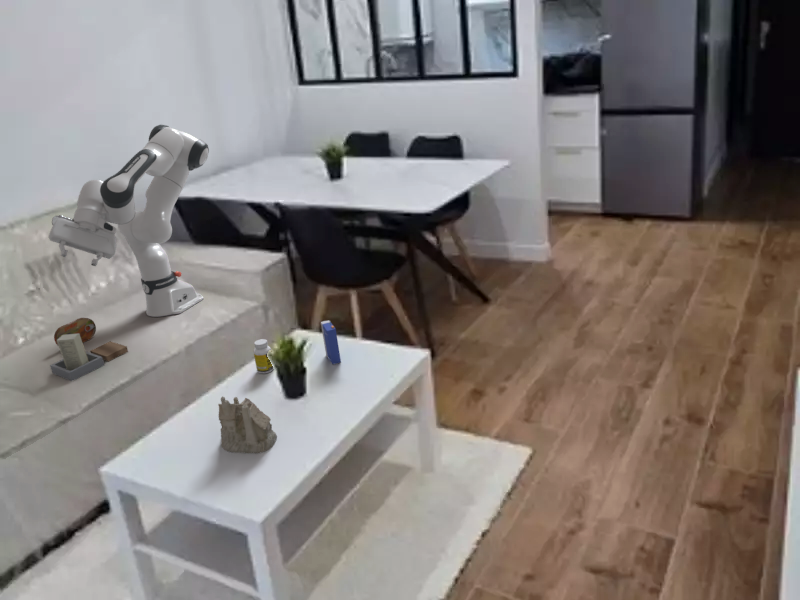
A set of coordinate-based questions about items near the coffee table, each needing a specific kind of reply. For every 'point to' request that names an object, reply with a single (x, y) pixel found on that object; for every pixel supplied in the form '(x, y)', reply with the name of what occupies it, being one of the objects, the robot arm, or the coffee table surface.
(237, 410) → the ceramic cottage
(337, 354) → the walkman
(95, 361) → the bin
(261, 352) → the supplement bottle
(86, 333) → the tin
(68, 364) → the skincare box
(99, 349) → the riser
